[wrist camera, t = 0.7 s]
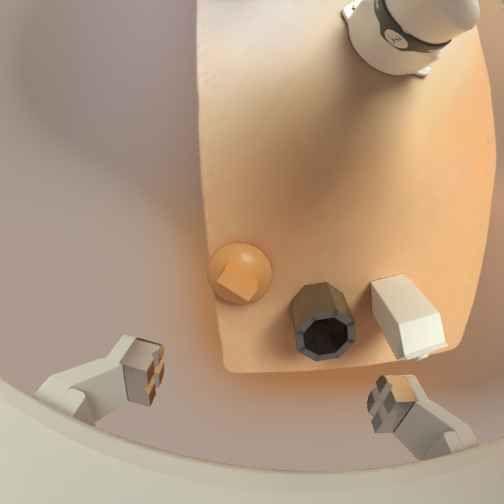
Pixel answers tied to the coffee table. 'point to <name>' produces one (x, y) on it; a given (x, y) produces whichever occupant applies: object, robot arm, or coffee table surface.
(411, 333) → the milk carton
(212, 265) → the orange cap
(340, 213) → the coffee table surface
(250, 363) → the coffee table surface
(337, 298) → the graphite tube
